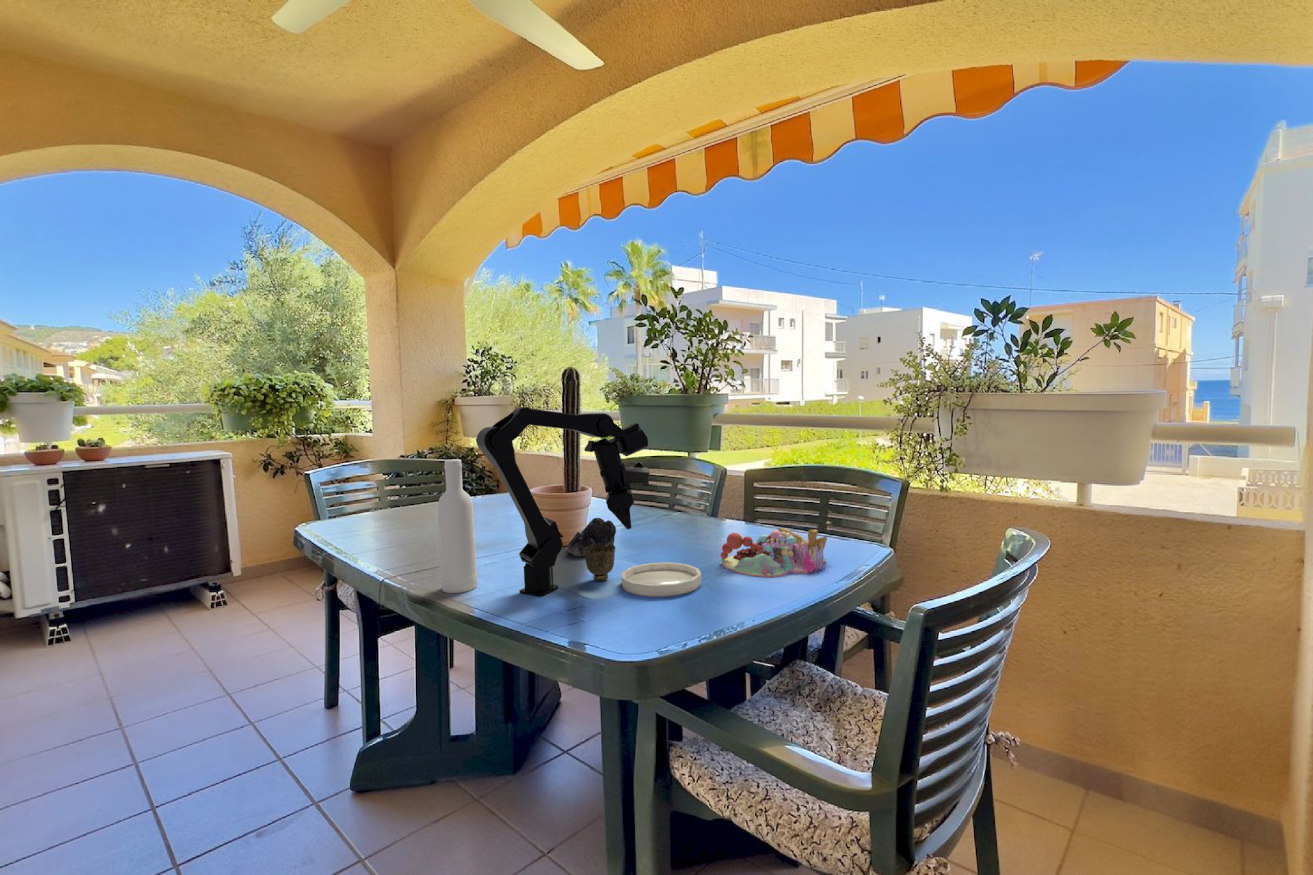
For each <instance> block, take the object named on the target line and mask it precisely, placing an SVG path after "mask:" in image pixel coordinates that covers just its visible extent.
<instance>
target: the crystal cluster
mask: <svg viewBox="0 0 1313 875" xmlns="http://www.w3.org/2000/svg"><path fill="white" fill-rule="evenodd" d="M616 533H617V528H616V526H615V524H614V523H613V522H612V521H611V520H609V519H608V520H606V521H605V520H604V519H602V518H601V517H594V518H592V520H591V521H589V523H587V525H586V526H585V528H583V529H582V530H581V532H580V531H578V532H576V534H575V535H574V536H573V538H572V539H571V540H570V541H569V542H568V544H567V545H568V549H567V553H570V554H571V555H573V556H575V557H585V553H584V548H585V546H586V547H587V546H589V547H590V548H591V545H592V544H593V546H595V545H596V544H597V543H599V544H600V545H602V544H603V545H604V547H608V545H609V544H611V546H612V545H615V537H616Z"/></svg>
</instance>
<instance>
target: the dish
mask: <svg viewBox="0 0 1313 875" xmlns="http://www.w3.org/2000/svg"><path fill="white" fill-rule="evenodd" d="M702 580H703V579H702V573H701V571H700V568H699V567H696V566H693V565H689V564H686V563H681V562H680V563H679V562H669V561H668V562H667V561H666V562H651V563H644V564H639V565H634V566H631V567H629V568H627V569H625V570H624V571H621V587H622V589H623V590H624V591H625V592H627V593H630V594H632V595H636V596H640V597H641V596H642V597H648V598H649V597H651V598H652V597H653V598H655V597H656V598H661V597H662V598H664V597H665V598H667V597H675V596H680V595H686V594H688V593H691V592H694V591H695V590H697V589H699V588H700V587H701V585H702V584H701V582H702Z"/></svg>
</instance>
